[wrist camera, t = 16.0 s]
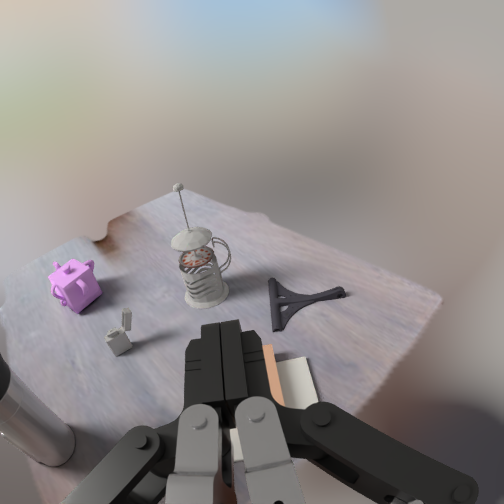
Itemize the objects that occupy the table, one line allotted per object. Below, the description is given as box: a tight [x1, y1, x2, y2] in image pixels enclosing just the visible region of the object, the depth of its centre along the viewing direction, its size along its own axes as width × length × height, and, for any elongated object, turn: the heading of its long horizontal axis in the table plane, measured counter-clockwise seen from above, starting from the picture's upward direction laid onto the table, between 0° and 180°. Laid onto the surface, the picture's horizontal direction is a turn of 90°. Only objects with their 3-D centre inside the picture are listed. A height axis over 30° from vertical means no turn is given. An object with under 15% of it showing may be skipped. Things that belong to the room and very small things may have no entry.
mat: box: [230, 357, 318, 462], centre depth 42 cm, size 16×16×1 cm
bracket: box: [268, 278, 346, 332], centre depth 60 cm, size 14×15×3 cm
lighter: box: [104, 308, 133, 356], centre depth 54 cm, size 7×2×8 cm, turn 129°
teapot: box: [48, 259, 102, 314], centre depth 68 cm, size 18×14×10 cm
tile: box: [262, 344, 285, 407], centre depth 44 cm, size 6×2×14 cm
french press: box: [171, 183, 231, 309], centre depth 60 cm, size 10×12×25 cm
